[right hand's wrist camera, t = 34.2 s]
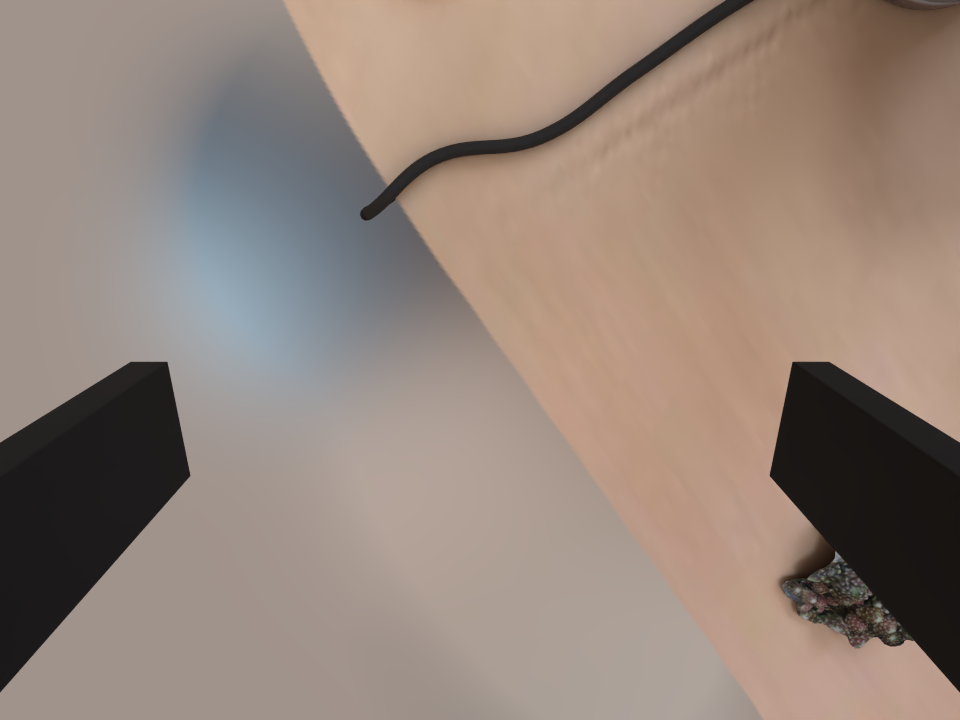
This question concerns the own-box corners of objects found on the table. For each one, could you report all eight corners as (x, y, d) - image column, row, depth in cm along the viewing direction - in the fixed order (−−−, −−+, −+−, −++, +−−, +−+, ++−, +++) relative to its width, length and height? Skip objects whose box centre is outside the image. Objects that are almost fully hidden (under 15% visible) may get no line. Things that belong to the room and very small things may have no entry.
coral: (858, 511, 50) (998, 522, 53) (816, 481, 55) (945, 494, 58) (801, 666, 55) (933, 670, 57) (766, 626, 60) (889, 631, 62)
